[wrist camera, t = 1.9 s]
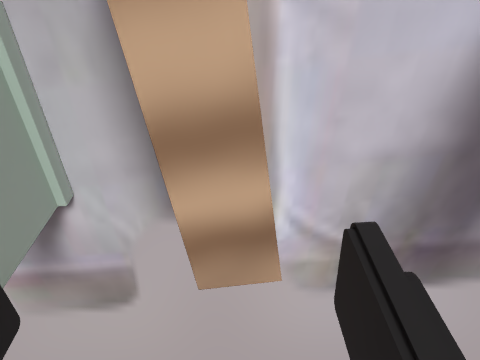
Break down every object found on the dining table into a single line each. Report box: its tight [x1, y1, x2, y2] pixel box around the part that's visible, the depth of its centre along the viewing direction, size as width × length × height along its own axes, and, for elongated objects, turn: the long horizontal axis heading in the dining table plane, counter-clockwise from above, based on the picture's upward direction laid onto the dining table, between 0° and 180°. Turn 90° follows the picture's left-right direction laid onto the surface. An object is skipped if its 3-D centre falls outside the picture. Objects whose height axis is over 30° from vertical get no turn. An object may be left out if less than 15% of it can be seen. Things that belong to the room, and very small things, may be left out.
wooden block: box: [107, 0, 282, 290], centre depth 19 cm, size 20×5×6 cm, turn 8°
